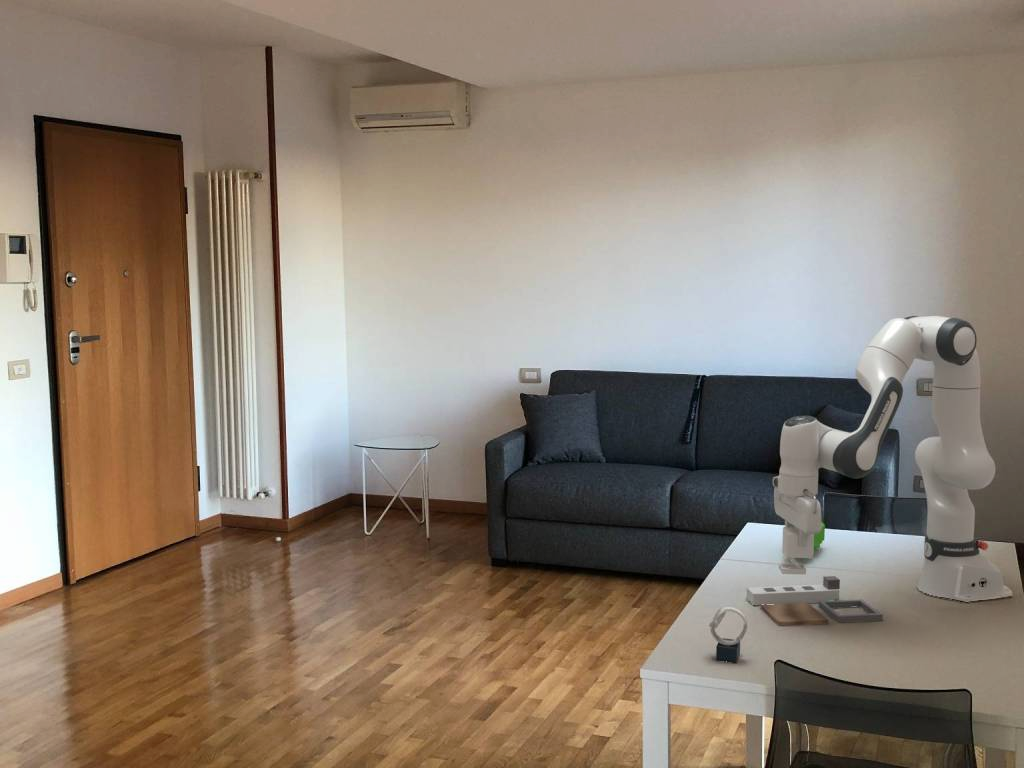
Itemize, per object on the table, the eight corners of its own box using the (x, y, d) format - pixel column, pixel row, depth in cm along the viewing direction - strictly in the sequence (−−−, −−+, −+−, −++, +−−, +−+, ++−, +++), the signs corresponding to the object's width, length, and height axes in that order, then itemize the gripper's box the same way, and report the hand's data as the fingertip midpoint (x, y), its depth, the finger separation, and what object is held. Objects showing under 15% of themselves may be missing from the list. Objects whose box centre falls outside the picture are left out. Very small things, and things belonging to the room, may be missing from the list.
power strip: (832, 595, 268) (833, 574, 267) (846, 606, 260) (847, 584, 259) (746, 599, 265) (746, 578, 265) (757, 610, 257) (758, 588, 257)
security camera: (813, 575, 248) (814, 533, 247) (782, 574, 248) (783, 532, 247) (807, 567, 254) (809, 526, 253) (778, 567, 255) (779, 526, 254)
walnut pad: (808, 606, 260) (808, 602, 259) (828, 623, 248) (828, 619, 248) (760, 609, 258) (760, 605, 258) (779, 626, 246) (779, 621, 246)
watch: (710, 650, 231) (711, 601, 230) (748, 655, 229) (749, 605, 227) (706, 659, 226) (707, 610, 225) (745, 664, 223) (746, 614, 222)
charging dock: (861, 605, 261) (861, 598, 260) (882, 620, 250) (882, 613, 250) (818, 607, 259) (819, 600, 259) (837, 622, 248) (838, 615, 248)
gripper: (829, 494, 239) (827, 554, 241) (794, 476, 259) (793, 531, 261) (802, 495, 238) (801, 555, 240) (769, 476, 259) (768, 532, 260)
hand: (796, 542), depth 251 cm, fingers closed on security camera, 5 cm apart
